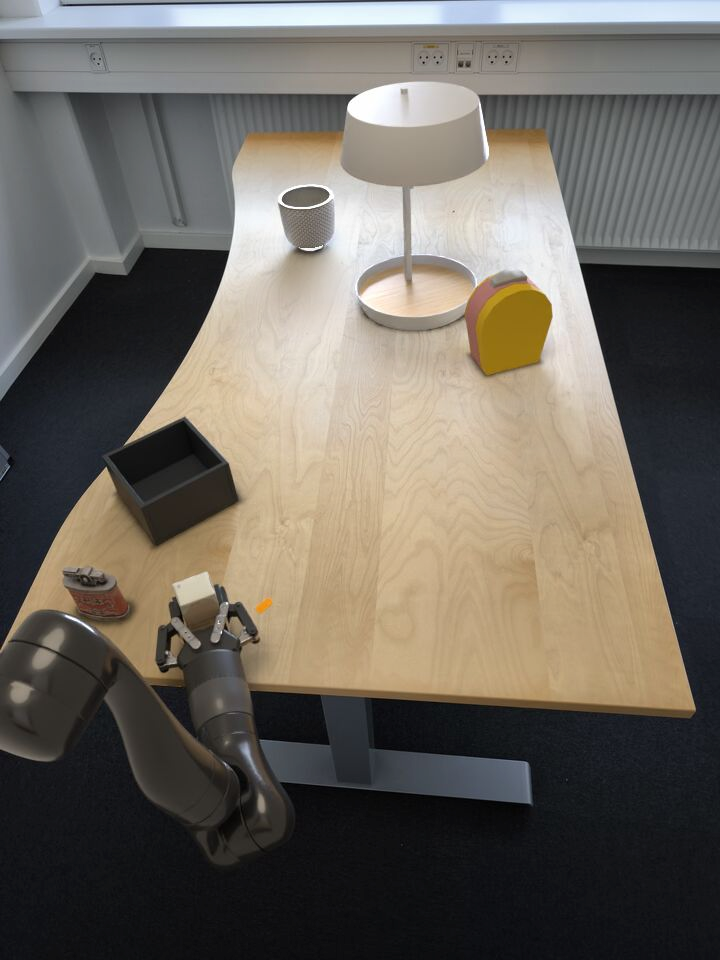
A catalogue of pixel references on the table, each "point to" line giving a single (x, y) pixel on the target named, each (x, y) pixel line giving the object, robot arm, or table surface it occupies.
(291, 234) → the planter
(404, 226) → the lamp
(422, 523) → the table surface
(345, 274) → the table surface
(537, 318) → the alarm clock
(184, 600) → the box
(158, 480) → the bin
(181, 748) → the robot arm
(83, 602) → the lighter
